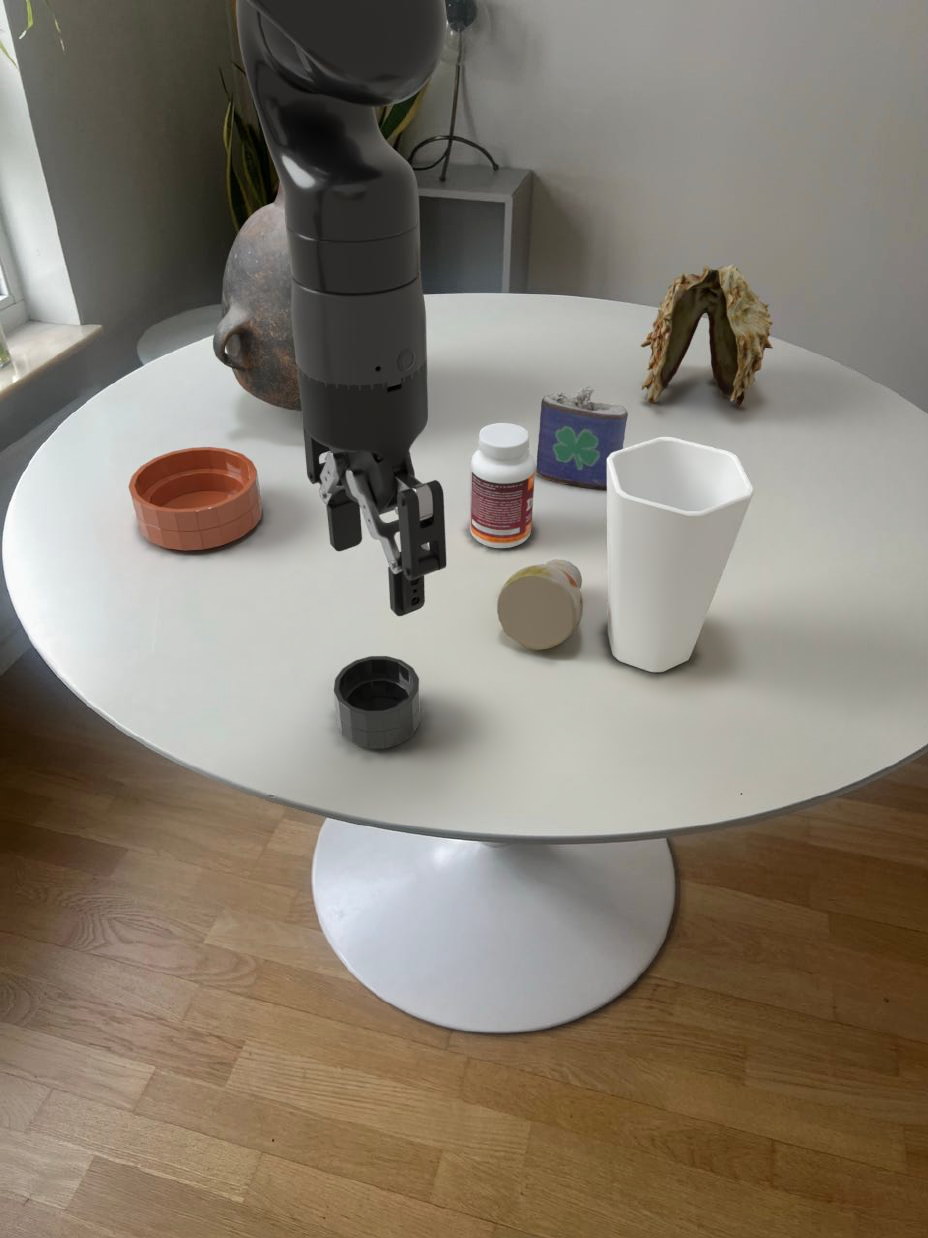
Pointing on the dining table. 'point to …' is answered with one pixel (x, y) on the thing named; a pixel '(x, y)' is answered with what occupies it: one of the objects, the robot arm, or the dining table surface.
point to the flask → (578, 438)
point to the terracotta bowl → (196, 498)
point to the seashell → (710, 330)
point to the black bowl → (377, 701)
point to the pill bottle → (502, 486)
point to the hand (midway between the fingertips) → (376, 576)
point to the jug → (260, 310)
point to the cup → (668, 544)
